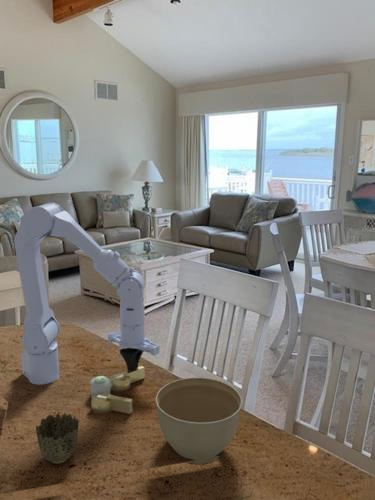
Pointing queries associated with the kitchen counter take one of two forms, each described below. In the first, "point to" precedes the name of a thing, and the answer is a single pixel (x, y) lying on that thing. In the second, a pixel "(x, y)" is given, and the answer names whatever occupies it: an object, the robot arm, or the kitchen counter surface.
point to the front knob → (110, 403)
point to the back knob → (126, 379)
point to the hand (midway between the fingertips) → (133, 374)
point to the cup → (58, 437)
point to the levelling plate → (100, 385)
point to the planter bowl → (198, 417)
